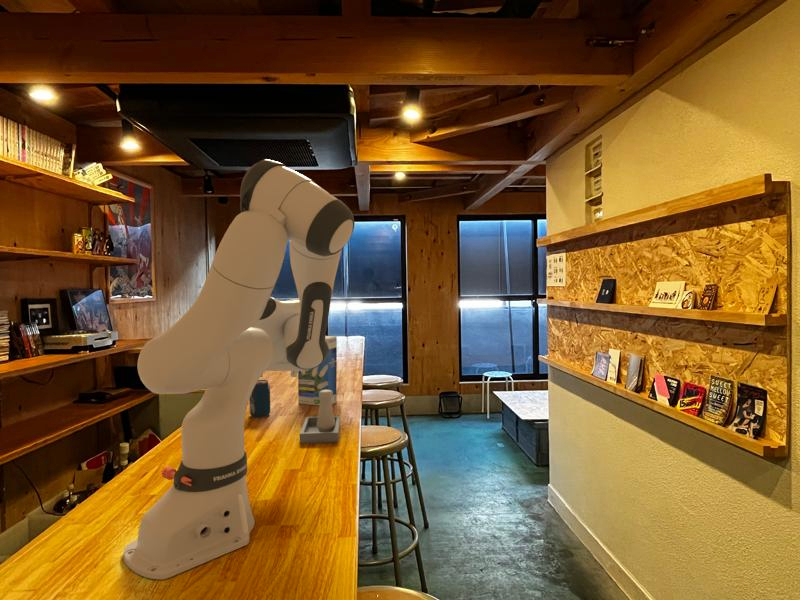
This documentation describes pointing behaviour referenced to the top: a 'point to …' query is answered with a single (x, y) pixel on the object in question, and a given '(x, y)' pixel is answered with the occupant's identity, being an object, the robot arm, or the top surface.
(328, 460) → the top surface
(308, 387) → the string lights box
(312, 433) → the trough
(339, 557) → the top surface
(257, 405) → the soda can
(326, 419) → the salt shaker
